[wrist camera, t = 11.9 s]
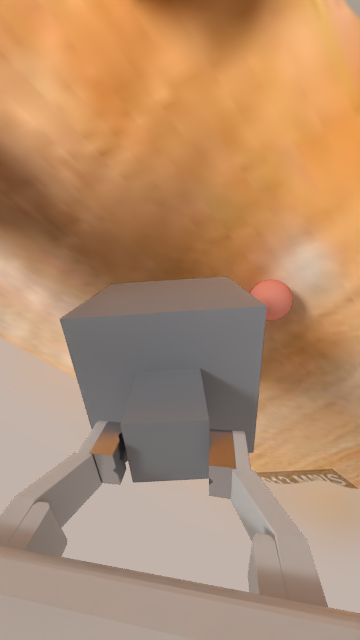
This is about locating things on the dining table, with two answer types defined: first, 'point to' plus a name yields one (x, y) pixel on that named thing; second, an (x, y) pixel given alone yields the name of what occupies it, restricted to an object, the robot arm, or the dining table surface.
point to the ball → (274, 298)
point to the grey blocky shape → (169, 368)
